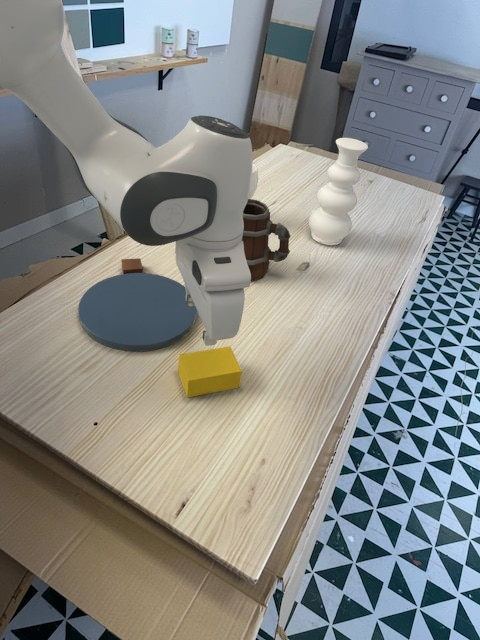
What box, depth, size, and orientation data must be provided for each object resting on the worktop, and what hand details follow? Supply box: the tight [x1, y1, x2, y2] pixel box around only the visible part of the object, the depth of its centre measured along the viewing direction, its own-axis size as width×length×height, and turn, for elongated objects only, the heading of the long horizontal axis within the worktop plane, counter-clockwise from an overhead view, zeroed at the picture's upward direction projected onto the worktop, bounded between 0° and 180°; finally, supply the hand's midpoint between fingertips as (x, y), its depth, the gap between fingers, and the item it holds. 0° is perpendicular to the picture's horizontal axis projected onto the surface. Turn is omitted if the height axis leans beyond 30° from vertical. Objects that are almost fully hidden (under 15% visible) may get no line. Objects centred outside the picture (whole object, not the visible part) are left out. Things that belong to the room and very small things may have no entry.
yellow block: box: [177, 346, 243, 398], centre depth 77 cm, size 9×6×4 cm, turn 110°
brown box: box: [120, 257, 144, 274], centre depth 99 cm, size 4×4×2 cm
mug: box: [242, 198, 291, 282], centre depth 101 cm, size 16×12×15 cm
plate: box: [77, 272, 198, 352], centre depth 89 cm, size 22×22×2 cm
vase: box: [308, 137, 369, 246], centre depth 113 cm, size 11×11×25 cm
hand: (200, 322), depth 72 cm, fingers open, 8 cm apart
